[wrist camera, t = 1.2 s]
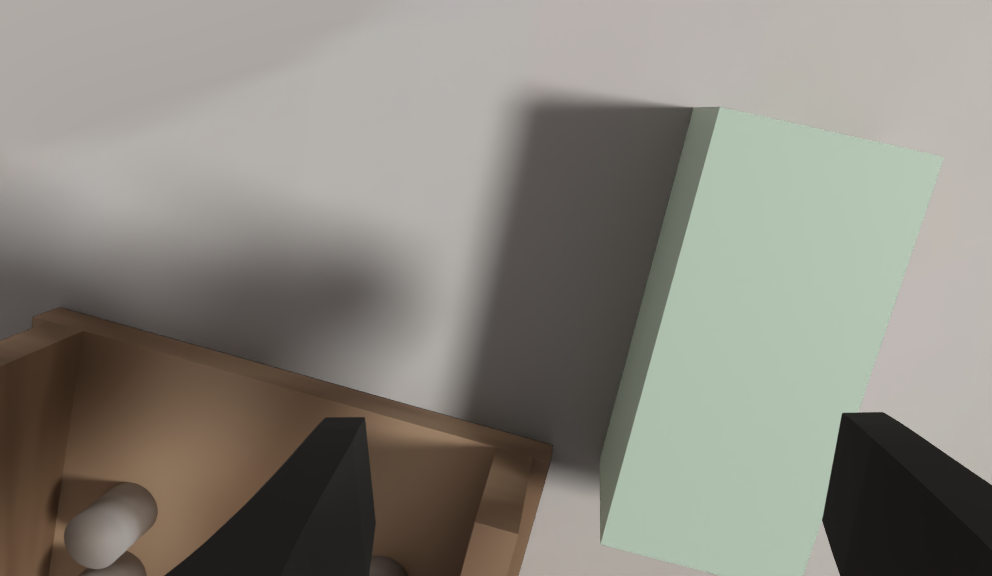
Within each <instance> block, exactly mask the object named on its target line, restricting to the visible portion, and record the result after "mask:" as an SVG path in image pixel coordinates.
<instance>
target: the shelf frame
mask: <svg viewBox="0 0 992 576" xmlns="http://www.w3.org/2000/svg"><path fill="white" fill-rule="evenodd" d="M325 417H365V422H366V432H367V441H368V451H369V461H370V471H371V480H372V490H373V500H374V510H375V520H376V526H375V534H374V542H373V550H372V558H371V565H370V572H369V576H518V575H519V572H520V568H521V565H522V561H523V558H524V554H525V550H526V547H527V543H528V540H529V536H530V533H531V529H532V526H533V522H534V519H535V515H536V512H537V508H538V505H539V501H540V498H541V494H542V491H543V487H544V484H545V480H546V477H547V473H548V469H549V466H550V462H551V455H552V447H553V445H550V444H546V443H543V442H539V441H535V440H532V439H528V438H525V437H521V436H518V435H514V434H510V433H507V432H503V431H500V430H496V429H493V428H489V427H485V426H482V425H478V424H475V423H471V422H468V421H464V420H460V419H457V418H453V417H450V416H446V415H443V414H439V413H435V412H432V411H428V410H425V409H421V408H418V407H414V406H410V405H407V404H403V403H400V402H396V401H393V400H389V399H385V398H382V397H378V396H375V395H371V394H368V393H364V392H360V391H357V390H353V389H350V388H346V387H343V386H339V385H335V384H332V383H328V382H325V381H321V380H318V379H314V378H310V377H307V376H303V375H300V374H296V373H293V372H289V371H285V370H282V369H278V368H275V367H271V366H268V365H264V364H260V363H257V362H253V361H250V360H246V359H243V358H239V357H235V356H232V355H228V354H225V353H221V352H218V351H214V350H210V349H207V348H203V347H200V346H196V345H193V344H189V343H185V342H182V341H178V340H175V339H171V338H168V337H164V336H160V335H157V334H153V333H150V332H146V331H143V330H139V329H135V328H132V327H128V326H125V325H121V324H118V323H114V322H110V321H107V320H103V319H100V318H96V317H93V316H89V315H85V314H82V313H78V312H75V311H71V310H68V309H64V308H60V307H59V308H56V309H53V310H50V311H48V312H45V313H42V314H39V315H37V316H34V317H33V321H32V328H31V329H29V330H26V331H24V332H21V333H18V334H16V335H13V336H11V337H8V338H5V339H3V340H0V576H164V575H165V574H167V573H168V572H169V571H171V570H172V569H173V568H174V567H176V566H177V565H178V564H180V563H181V562H182V561H183V560H185V559H186V558H187V557H188V556H190V555H191V554H192V553H193V552H194V551H195V550H197V549H198V548H199V547H200V546H201V545H202V544H204V543H205V542H206V541H207V540H208V539H209V538H210V537H211V536H212V535H213V534H214V533H215V532H216V531H218V530H219V529H220V528H221V527H222V526H223V525H224V524H225V523H226V522H227V521H228V520H229V519H230V518H231V517H232V516H233V515H234V514H236V513H237V512H238V511H239V510H240V509H241V508H242V507H243V506H244V505H245V504H246V503H247V502H248V501H249V500H250V499H251V498H252V497H253V496H254V495H255V493H256V492H257V491H258V490H259V489H260V488H261V487H262V486H263V485H264V484H265V483H266V482H267V481H268V480H269V479H270V478H271V477H272V476H273V475H274V473H275V472H276V471H277V470H278V469H279V468H280V467H281V466H282V465H283V464H284V462H285V461H286V460H287V459H288V458H289V457H290V456H291V455H292V454H293V452H294V451H295V450H296V449H297V448H298V447H299V446H300V444H301V443H302V442H303V441H304V440H305V439H306V438H307V436H308V435H309V434H310V433H311V432H312V431H313V430H314V429H315V427H316V426H317V425H318V424H319V423H320V422H321V421H322V420H323V419H324V418H325Z"/></svg>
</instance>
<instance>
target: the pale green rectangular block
mask: <svg viewBox="0 0 992 576" xmlns="http://www.w3.org/2000/svg"><path fill="white" fill-rule="evenodd" d="M943 158H944V157H943V156H939V155H934V154H930V153H925V152H921V151H916V150H912V149H907V148H903V147H898V146H894V145H889V144H885V143H880V142H876V141H871V140H867V139H862V138H858V137H853V136H849V135H845V134H840V133H836V132H831V131H827V130H822V129H818V128H813V127H809V126H804V125H800V124H795V123H791V122H786V121H782V120H777V119H773V118H768V117H764V116H759V115H755V114H750V113H746V112H741V111H737V110H732V109H728V108H723V107H695V108H693V111H692V115H691V119H690V123H689V126H688V130H687V134H686V138H685V141H684V145H683V149H682V153H681V157H680V160H679V164H678V168H677V172H676V175H675V179H674V183H673V187H672V190H671V194H670V198H669V202H668V205H667V209H666V213H665V217H664V220H663V224H662V228H661V232H660V235H659V239H658V243H657V247H656V250H655V254H654V258H653V262H652V265H651V269H650V273H649V277H648V280H647V284H646V288H645V292H644V295H643V299H642V303H641V307H640V310H639V314H638V318H637V322H636V325H635V329H634V333H633V337H632V341H631V344H630V348H629V352H628V356H627V359H626V363H625V367H624V371H623V374H622V378H621V382H620V386H619V389H618V393H617V397H616V401H615V404H614V408H613V412H612V416H611V419H610V423H609V427H608V431H607V434H606V438H605V442H604V446H603V449H602V453H601V457H600V544H601V545H604V546H608V547H612V548H616V549H620V550H624V551H628V552H631V553H635V554H639V555H643V556H647V557H651V558H654V559H658V560H662V561H666V562H670V563H674V564H678V565H681V566H685V567H689V568H693V569H697V570H701V571H705V572H708V573H712V574H716V575H720V576H803V574H804V571H805V568H806V565H807V562H808V559H809V556H810V553H811V550H812V547H813V544H814V541H815V538H816V536H817V533H818V530H819V527H820V524H821V521H822V518H823V513H824V507H825V502H826V496H827V491H828V486H829V480H830V475H831V470H832V464H833V459H834V454H835V448H836V443H837V437H838V432H839V427H840V421H841V416H842V413H858V411H859V408H860V405H861V402H862V399H863V396H864V393H865V390H866V387H867V384H868V381H869V378H870V375H871V372H872V369H873V366H874V363H875V360H876V357H877V354H878V351H879V348H880V345H881V343H882V340H883V337H884V334H885V331H886V328H887V325H888V322H889V319H890V316H891V313H892V310H893V307H894V304H895V301H896V298H897V295H898V292H899V289H900V286H901V283H902V280H903V277H904V274H905V271H906V268H907V265H908V262H909V259H910V256H911V253H912V250H913V248H914V245H915V242H916V239H917V236H918V233H919V230H920V227H921V224H922V221H923V218H924V215H925V212H926V209H927V206H928V203H929V200H930V197H931V194H932V191H933V188H934V185H935V182H936V179H937V176H938V173H939V170H940V167H941V164H942V161H943Z"/></svg>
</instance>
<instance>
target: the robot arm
mask: <svg viewBox="0 0 992 576" xmlns="http://www.w3.org/2000/svg"><path fill="white" fill-rule="evenodd" d="M822 521H823V524H824V528H825V531H826V534H827V537H828V540H829V544H830V547H831V550H832V553H833V556H834V559H835V562H836V565H837V567H838V570H839V573H840V576H992V485H991V484H989V483H988V482H986V481H985V480H983V479H982V478H980V477H979V476H977V475H976V474H974V473H973V472H971V471H970V470H969V469H967V468H966V467H964V466H963V465H961V464H960V463H958V462H957V461H955V460H954V459H953V458H951V457H950V456H948V455H947V454H945V453H944V452H942V451H941V450H940V449H938V448H937V447H935V446H934V445H932V444H931V443H929V442H928V441H927V440H925V439H924V438H922V437H921V436H919V435H918V434H916V433H915V432H913V431H912V430H910V429H909V428H907V427H906V426H904V425H903V424H901V423H900V422H898V421H897V420H895V419H893V418H892V417H890V416H888V415H887V414H885V413H883V412H868V413H842V416H841V421H840V427H839V432H838V437H837V443H836V448H835V454H834V459H833V464H832V470H831V475H830V480H829V486H828V491H827V496H826V502H825V507H824V513H823V518H822ZM375 526H376V520H375V510H374V500H373V490H372V480H371V471H370V461H369V451H368V441H367V432H366V422H365V417H325V418H324V419H323V420H322V421H321V422H320V423H319V424H318V425H317V426H316V427H315V429H314V430H313V431H312V432H311V433H310V434H309V435H308V436H307V438H306V439H305V440H304V441H303V442H302V443H301V444H300V446H299V447H298V448H297V449H296V450H295V451H294V452H293V454H292V455H291V456H290V457H289V458H288V459H287V460H286V461H285V462H284V464H283V465H282V466H281V467H280V468H279V469H278V470H277V471H276V472H275V473H274V475H273V476H272V477H271V478H270V479H269V480H268V481H267V482H266V483H265V484H264V485H263V486H262V487H261V488H260V489H259V490H258V491H257V492H256V493H255V495H254V496H253V497H252V498H251V499H250V500H249V501H248V502H247V503H246V504H245V505H244V506H243V507H242V508H241V509H240V510H239V511H238V512H237V513H236V514H234V515H233V516H232V517H231V518H230V519H229V520H228V521H227V522H226V523H225V524H224V525H223V526H222V527H221V528H220V529H219V530H218V531H216V532H215V533H214V534H213V535H212V536H211V537H210V538H209V539H208V540H207V541H206V542H205V543H204V544H202V545H201V546H200V547H199V548H198V549H197V550H195V551H194V552H193V553H192V554H191V555H190V556H188V557H187V558H186V559H185V560H183V561H182V562H181V563H180V564H178V565H177V566H176V567H174V568H173V569H172V570H171V571H169V572H168V573H167V574H165V575H164V576H369V572H370V565H371V558H372V550H373V542H374V534H375Z"/></svg>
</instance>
